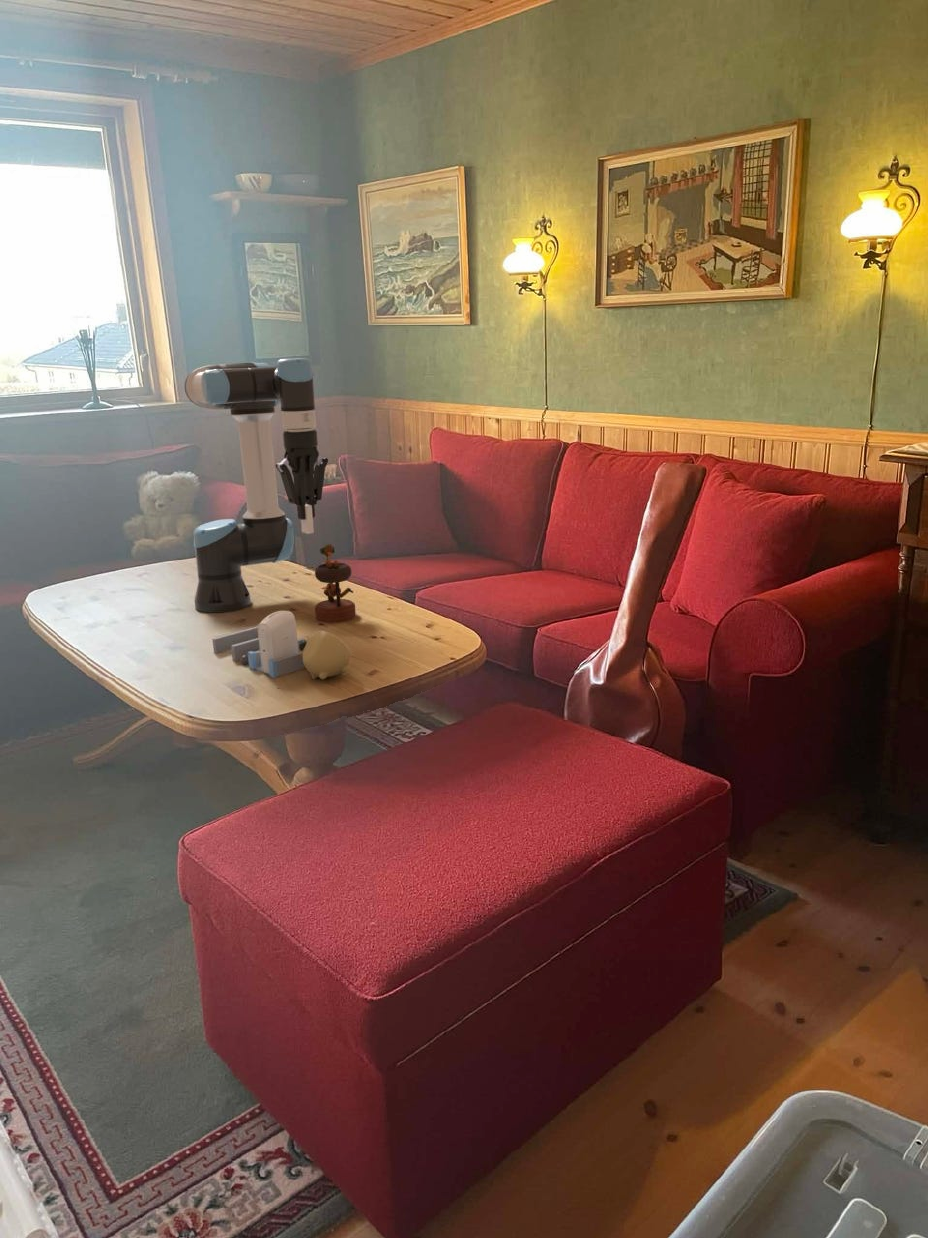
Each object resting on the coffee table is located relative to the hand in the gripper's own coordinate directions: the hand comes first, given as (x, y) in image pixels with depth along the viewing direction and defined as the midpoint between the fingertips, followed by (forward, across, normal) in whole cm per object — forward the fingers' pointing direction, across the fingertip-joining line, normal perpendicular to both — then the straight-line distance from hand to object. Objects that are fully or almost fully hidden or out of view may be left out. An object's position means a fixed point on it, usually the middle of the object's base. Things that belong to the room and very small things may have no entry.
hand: (307, 532), depth 216 cm
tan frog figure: (+27, -12, -21) cm, 36 cm away
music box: (+28, +16, +14) cm, 35 cm away
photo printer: (+27, -16, -9) cm, 32 cm away
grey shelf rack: (+27, -13, 0) cm, 30 cm away
